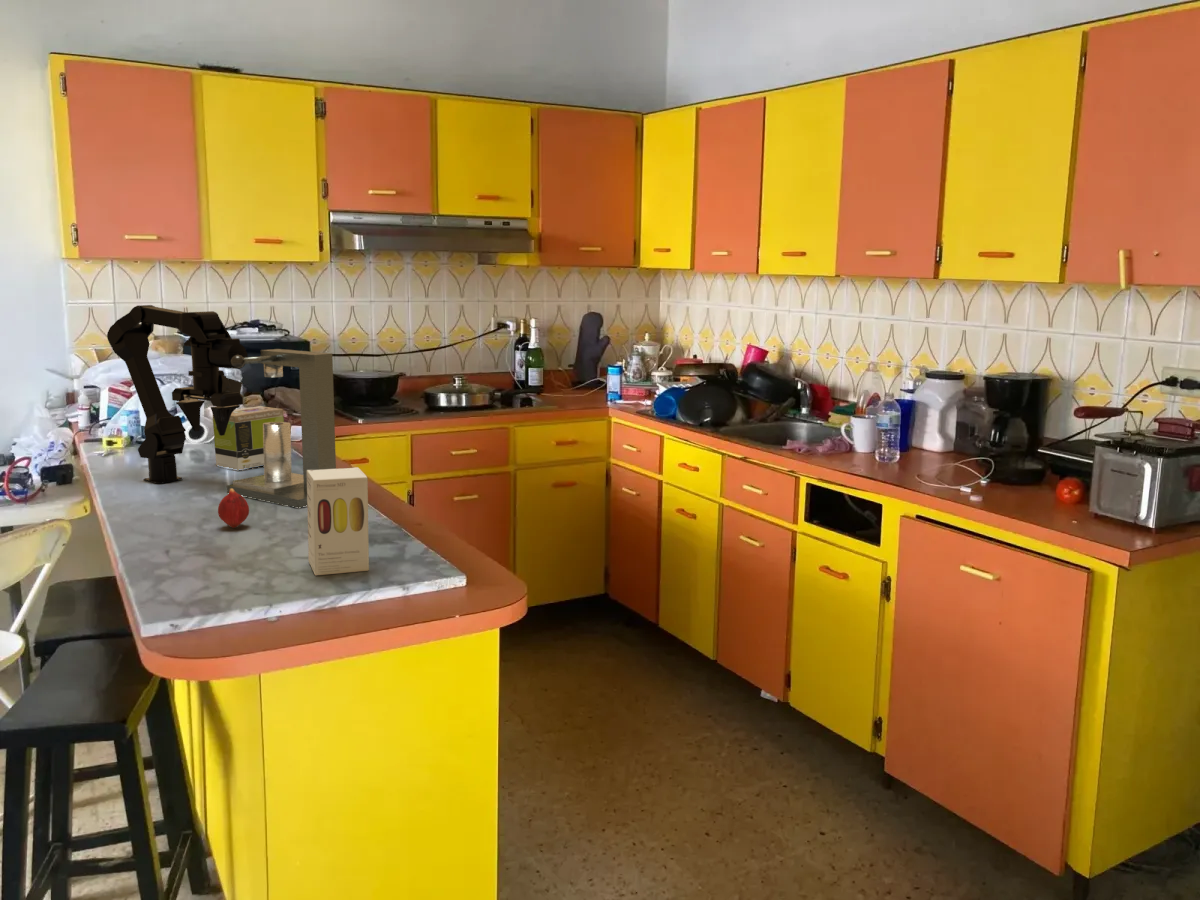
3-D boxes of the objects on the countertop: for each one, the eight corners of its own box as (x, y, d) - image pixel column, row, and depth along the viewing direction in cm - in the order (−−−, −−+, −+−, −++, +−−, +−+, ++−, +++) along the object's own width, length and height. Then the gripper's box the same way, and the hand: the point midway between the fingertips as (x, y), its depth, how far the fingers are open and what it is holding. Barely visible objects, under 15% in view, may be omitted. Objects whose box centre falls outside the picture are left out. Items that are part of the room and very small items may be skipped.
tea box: (264, 458, 267) (261, 404, 264) (287, 463, 261) (285, 408, 258) (214, 467, 255) (211, 410, 252) (237, 472, 249) (234, 414, 246)
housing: (262, 481, 224) (260, 424, 221) (266, 476, 229) (265, 421, 227) (289, 481, 225) (288, 425, 222) (293, 476, 230) (292, 421, 228)
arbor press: (204, 498, 220) (196, 351, 214) (283, 481, 238) (277, 345, 232) (278, 514, 207) (271, 358, 201) (355, 495, 226) (350, 352, 220)
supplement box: (314, 576, 167) (310, 479, 164) (307, 561, 175) (303, 469, 172) (371, 570, 170) (368, 475, 167) (361, 556, 179) (359, 465, 176)
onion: (256, 526, 198) (254, 487, 196) (234, 533, 193) (232, 493, 191) (234, 522, 200) (232, 484, 199) (212, 529, 195) (210, 490, 194)
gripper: (261, 366, 227) (264, 433, 230) (210, 361, 237) (213, 425, 240) (220, 370, 218) (223, 439, 221) (168, 364, 228) (172, 431, 231)
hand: (209, 433), depth 228 cm, fingers open, 9 cm apart
